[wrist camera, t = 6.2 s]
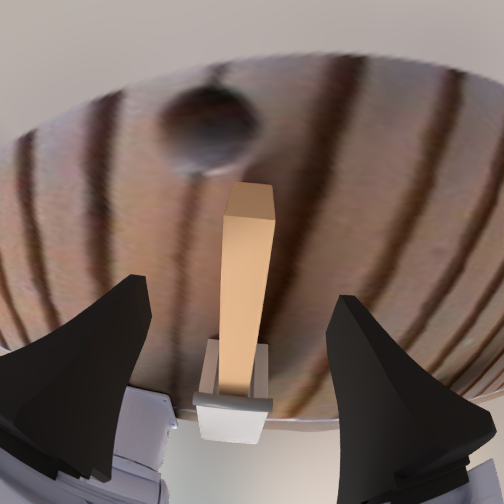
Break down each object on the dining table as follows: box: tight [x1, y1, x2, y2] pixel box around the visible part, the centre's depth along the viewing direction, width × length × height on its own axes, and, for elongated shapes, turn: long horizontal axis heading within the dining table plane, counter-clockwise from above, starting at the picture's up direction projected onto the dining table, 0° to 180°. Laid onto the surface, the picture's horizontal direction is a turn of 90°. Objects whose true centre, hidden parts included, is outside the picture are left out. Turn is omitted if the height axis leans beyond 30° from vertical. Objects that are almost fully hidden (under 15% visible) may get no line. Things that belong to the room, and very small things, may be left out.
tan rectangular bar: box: [219, 182, 276, 396], centre depth 16 cm, size 13×2×4 cm, turn 175°
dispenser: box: [193, 339, 273, 444], centre depth 21 cm, size 8×5×6 cm
